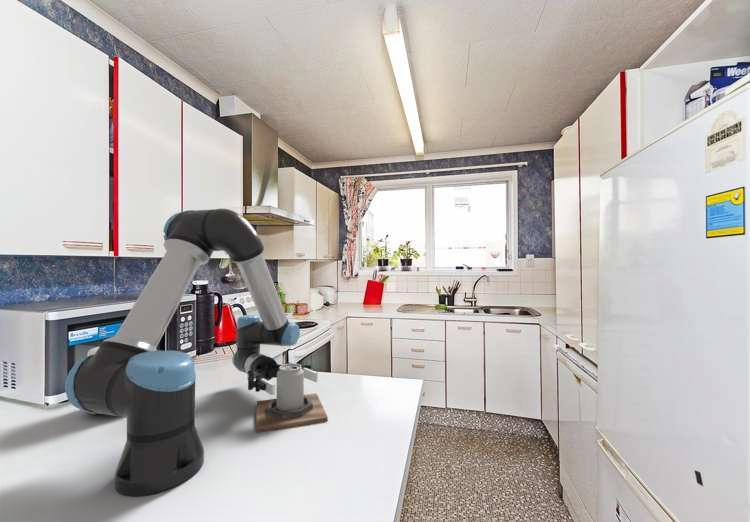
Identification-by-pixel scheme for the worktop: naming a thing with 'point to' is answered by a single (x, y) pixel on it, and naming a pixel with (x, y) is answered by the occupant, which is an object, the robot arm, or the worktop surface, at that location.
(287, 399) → the can
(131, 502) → the worktop surface
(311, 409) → the ring board
